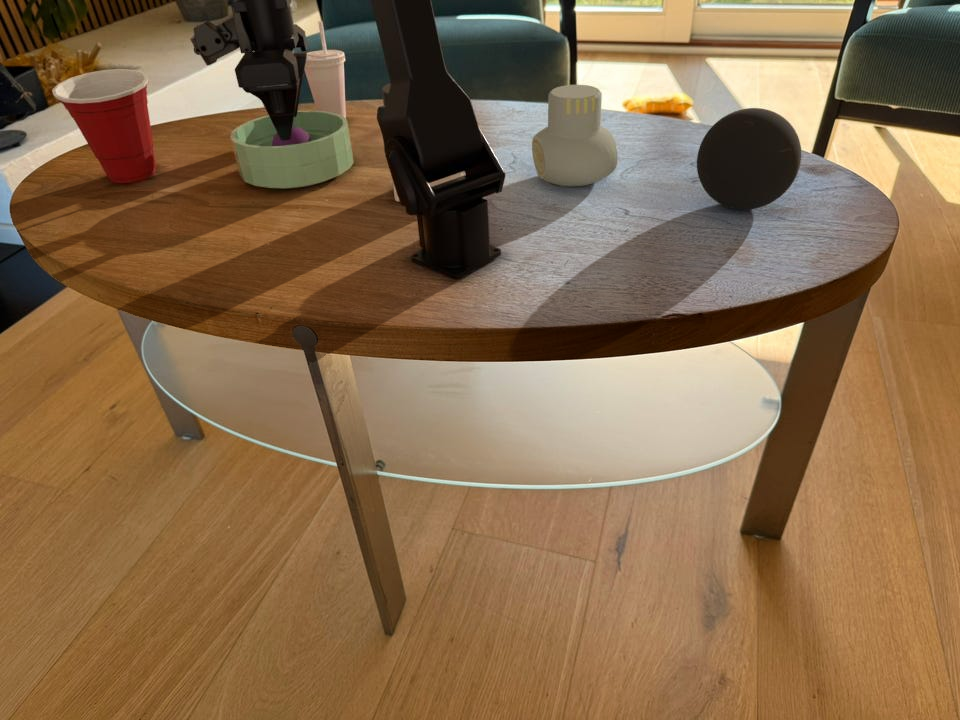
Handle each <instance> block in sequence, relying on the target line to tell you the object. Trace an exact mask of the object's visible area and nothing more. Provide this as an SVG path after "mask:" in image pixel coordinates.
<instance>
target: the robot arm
mask: <svg viewBox="0 0 960 720" xmlns="http://www.w3.org/2000/svg"><path fill="white" fill-rule="evenodd" d="M291 4H292V0H233V1H232V4H231V5H230V7H231V8H230V9H231V12H232V13H231V14H229V15H227V16H225V17H223V18H221V19H219V20H216V21H215V22H211V21H210V20H209V19H207V20H205V21H204V22H202V23H200V24H197V25H195V26H194V27H193V29H192V30H193V35H192V37H190V41H191V43H192V45H193V52H194V54H195V55H197V56H200V57H201V58H202V60H203V62H204V63H205V65H206V66H211V65H213V64H215V63H217V61H218V59H221V58H222V57H224V56H226V55H228V54H230V53H233V52H234V51H236V50H238V49H239V51H240V54H243V55H242V57H241V58H240V59H239V61H238V62H237V64H236V66H235V68H234V74H235V77H236V82H237V86H238V88H240V89H242V90H243V91H244V92H245V93H247V94H251V95H253V96H254V97H256V98H257V99H259V100H260V101H261V103H262V105H263V107H264V109H265V110H266V112H267V116H268V115H269V117H270V119H271V121H272V123H273V125H274V127H275V129H276V131H277V133H278V135H279V137H280V139H281V140H282V141H284V140H290V138H291V133H292V126H293V120H294V117H296V116H297V111H299V105H300V98H301V92H302V86H303V81H304V75H305V64H306V58H307V53H308V52H307V51H308V47H309V46H308V40H307V35H306V31H305V30H304V29H303V28H302V27H301V26H299V24H297V23H295V24H294V19H293V13H292V7H291ZM370 5H371V8H372V12H373V16H374V20H375V25H376V28H377V33H378V36H379V40H380V44H381V49H382V52H383V56H384V61H385V65H386V69H387V73H388V77H389V81H390V82H389V83H391V86H390V90H389V94H388V97H387V101H386V105H384V104H383V105H380V106H378V108H377V111H376V120H377V123H378V127H379V129H380V132H381V135H382V140H383V149H384V151H383V152H384V155H385V159H386V162H387V166H388V169H389V172H390V175H391V180H392V179H393V181H392V183H393V182H394V185H395V189H396V192H397V195H398V198H399V200H400V202H399V203H400V205H401V206H402V207H405V213H406V214H407V215H409V216H416V220H417V221H416V222H417V231H418V238H419V247H420V248H421V249H420V250H418V251H416V252H414V253H412V254H411V255H410V260H411V262H413V263H416V264H417V265H420V266H423V267H425V268H427V269H430V270H432V271H434V272H437V273H439V274H442V275H444V276H446V277H449V278H450V279H454V280H458V279H461V278H463V277H465V276H467V275H469V274H471V273H472V272H473V271H475V270H477V269H479V268H481V267H483V266H484V265H486V264H487V263H490V262H491V261H493V260H495V259H498V257H500V256H501V255H502V249H501V248H499V247H497V246H494V245H491V243H490V224H489V202H488V201H489V200H488V198H487V199H486V197H488V196H491V195H494V194H500V193H502V192H503V189H504V184H505V179H506V172H505V170H504V169H503V166H502V165H501V163H500V161H499V159H498V157H497V156H496V154H495V153H494V150H493V149H492V147H491V145H490V143H489V142H488V139H486V137H485V135H484V133H483V131H482V130H481V128H480V125H479V123H478V120H477V116H476V113H475V110H474V107H473V104H472V100H471V99H470V97H469V95H468V94H467V93H466V92H465V90H463V89H462V87H461V86H460V85H459V84H458V83H457V81H456V80H455V79H454V78H453V77H452V76H451V74H450V73H449V71H448V70H447V66H446V64H445V60H444V55H443V50H442V45H441V40H440V35H439V32H438V28H437V23H436V18H435V13H434V8H433V3H432V0H370ZM299 48H300V51H298V52H297V51H296V50H295V49H299ZM460 172H462V173H463V172H464V173H465V175H462V176H461V177H458V178H456V179H453V180H450V181H447V182H444V183H441V184H438V185H435V186H432V187H430V186H429V184H428V183H431V182H434V181H437V180H440V179H443V178H445V177H448V176H451V175H454V174H457V173H460Z"/></svg>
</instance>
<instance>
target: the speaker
mask: <svg viewBox="0 0 960 720" xmlns="http://www.w3.org/2000/svg"><path fill="white" fill-rule="evenodd" d="M696 157H697V158H696V171H697V176H698V179H699V182H700V184H701V187H702V188H703V189H704V191H705V193H707V195H708V196H709V197H710V198H711V199H712V200H714V201H715V202H717V203H718V204H720V205H721V206H724V207H726V208H729V209H733V210H741V211H745V210H746V211H747V210H755V209H759V208H762V207H766V206H767V205H769V204H772V203H773V202H775V201H776V200H778V199H779V198H780V197H781V196H783V195H784V194H785V193H786V192H787V191H788V190H789V189H790V187H791V186H792V184H793V183H794V182H795V179H796V177H797V175H798V174H799V173H798V172H799V171H800V167H801V163H802V145H801V141H800V138H799V135H798V133H797V131H796V129H795V128H794V127H793V125H792V124H791V123H790V122H789V121H788V120H787V118H785V117H784V116H783V115H781V114H779V113H777V112H775V111H773V110H770V109H765V108H760V107H749V108H742V109H738V110H734V111H733V112H732V111H731V112H729V113H728V114H726V115H724V116H723V117H721V118H720V119H719V120H717V121H716V122H715V123H714V124H713V125H712V126H711V127H710V128H709V129H708V130H707V132H706V133H705V135H704V137H703V138H702V141H701V142H700V144H699V148H698V151H697V156H696Z"/></svg>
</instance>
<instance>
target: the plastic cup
mask: <svg viewBox="0 0 960 720" xmlns="http://www.w3.org/2000/svg"><path fill="white" fill-rule="evenodd" d="M148 83H149V77H148V75H147V74H146V72H143V71H140V70H137V69H126V68H115V69H102V70H95V71H91V72H85V73H83V74H78V75H76V76H72V77H69V78H67V79H65V80H62V81H61V82H58V83H57V84H56V85H55V86H54V87H53V88H52V90H51V91H52V95H53V97H54V98H55V99H56V100H59V102H60V103H61V105H63V106H64V108H65V110H67V112H68V113H69V115H70V117H71V118H72V119H73V120H74V122H75V124H76V126H77V128H78V129H79V131H80V133H81V134H82V136H83V138H84V140H85V141H86V143H87V145H88V147H89V149H90V150H91V152H92V153H93V155H94V158H96V159H97V161H98V162H99V164H100V166H101V168H102V169H103V171H104V173H105V175H106V176H107V178H109V180H110V182H112V183H115V184H131V183H132V184H133V183H137V182H142V181H143V180H147V179H149V178H151V177H152V176H154V175H155V173H157V169H156V167H157V164H156V158H155V152H154V140H153V133H152V125H151V120H150V113H149V107H148V103H149V102H148V101H149V100H148V90H147V88H148V87H147V85H148Z"/></svg>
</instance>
